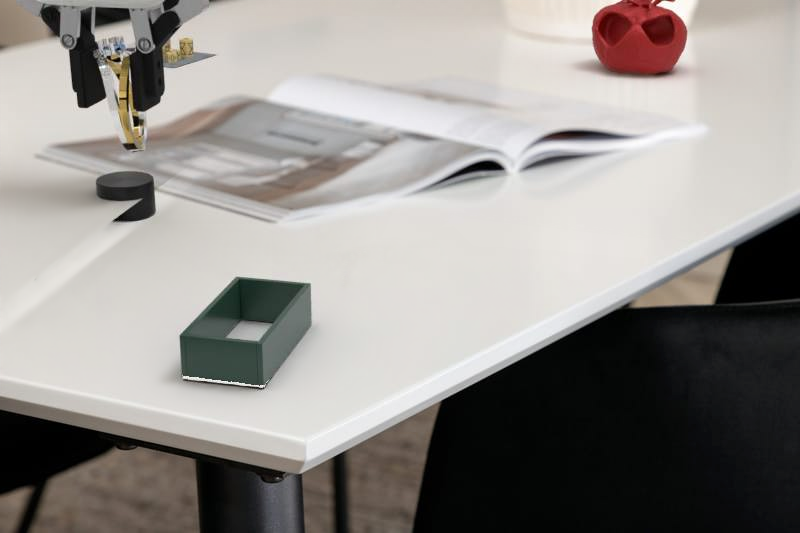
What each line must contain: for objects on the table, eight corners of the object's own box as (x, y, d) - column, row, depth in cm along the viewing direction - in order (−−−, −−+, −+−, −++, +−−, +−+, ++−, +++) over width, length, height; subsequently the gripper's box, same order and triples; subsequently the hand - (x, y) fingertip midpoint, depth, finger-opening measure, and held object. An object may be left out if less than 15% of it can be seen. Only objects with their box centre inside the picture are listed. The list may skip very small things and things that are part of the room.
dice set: (132, 59, 139) (131, 42, 138) (160, 51, 143) (159, 34, 142) (169, 64, 136) (168, 46, 136) (197, 55, 141) (196, 38, 140)
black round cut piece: (88, 219, 88) (85, 185, 87) (113, 202, 92) (110, 168, 91) (141, 223, 87) (139, 189, 86) (164, 206, 91) (162, 172, 90)
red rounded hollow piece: (599, 57, 142) (605, -28, 138) (690, 63, 138) (697, -23, 135) (580, 74, 133) (585, -15, 129) (676, 82, 130) (684, -10, 126)
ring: (127, 140, 91) (101, 31, 88) (170, 134, 91) (145, 24, 88) (104, 169, 85) (75, 52, 82) (151, 162, 85) (123, 44, 82)
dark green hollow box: (181, 379, 65) (179, 335, 64) (238, 316, 72) (236, 276, 71) (263, 389, 64) (262, 343, 63) (311, 324, 71) (310, 283, 70)
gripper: (-52, -177, 79) (-18, 111, 85) (198, -174, 75) (213, 126, 82) (9, -181, 85) (36, 86, 92) (241, -178, 82) (252, 99, 89)
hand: (119, 102), depth 87 cm, fingers closed on ring, 3 cm apart
